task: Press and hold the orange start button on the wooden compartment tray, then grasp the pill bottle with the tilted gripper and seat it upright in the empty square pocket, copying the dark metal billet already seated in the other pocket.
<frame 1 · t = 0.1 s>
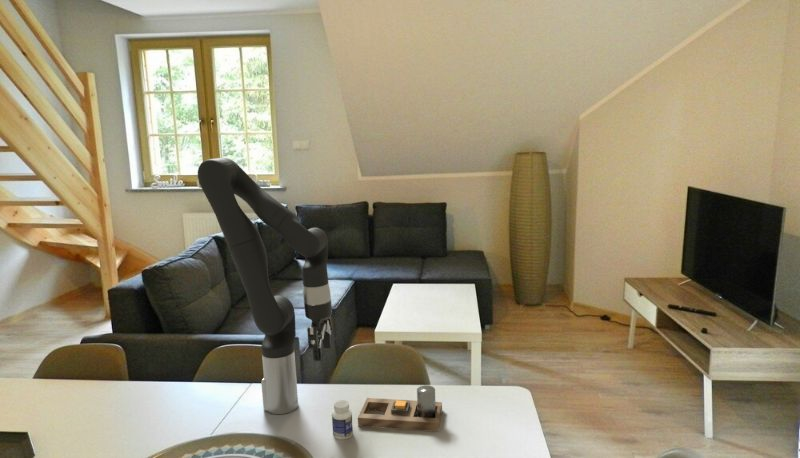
hand: (322, 353, 153), 17 cm above the table, tool pointing down, fingers open, 8 cm apart
start button: (400, 405, 150), point 4 cm above the table, slide at 0.0 cm
pill bottle: (343, 435, 143), on the table
metal billet: (426, 419, 149), resting in wooden compartment tray
wooden compartment tray: (401, 417, 150), on the table
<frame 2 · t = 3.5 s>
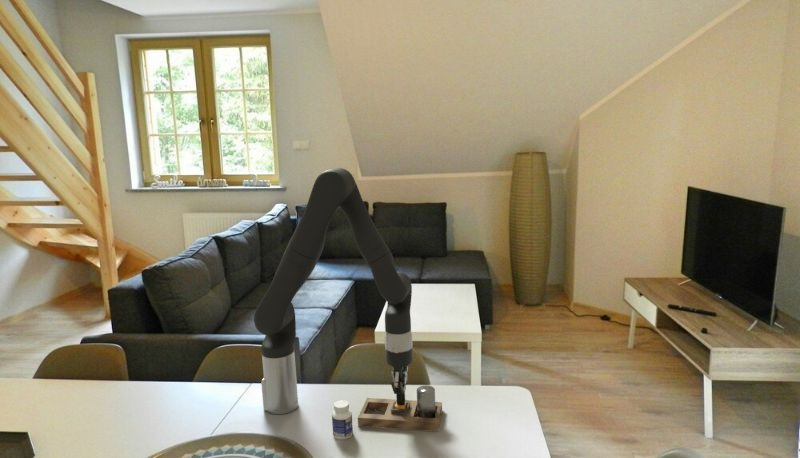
hand: (401, 403, 150), 4 cm above the table, tool pointing down, fingers closed
start button: (400, 405, 150), point 4 cm above the table, slide at 0.2 cm, touching gripper
everything else where it was.
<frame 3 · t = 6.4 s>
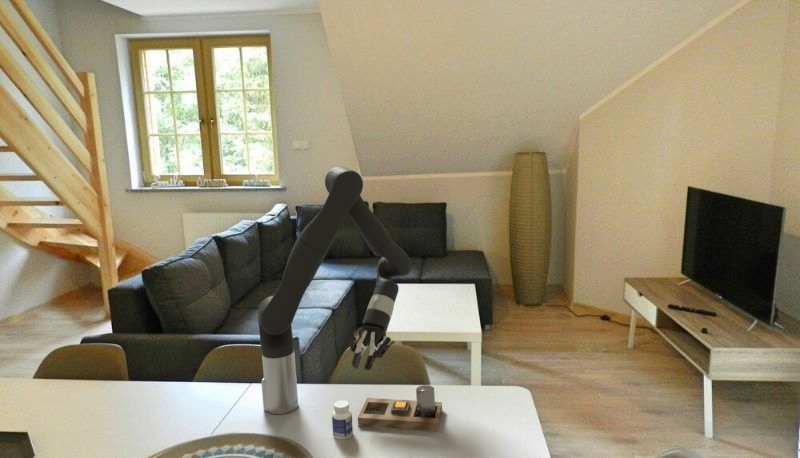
hand: (360, 368, 150), 14 cm above the table, tool tilted 45°, fingers open, 3 cm apart
start button: (400, 406, 150), point 4 cm above the table, slide at 0.4 cm
everything else where it was.
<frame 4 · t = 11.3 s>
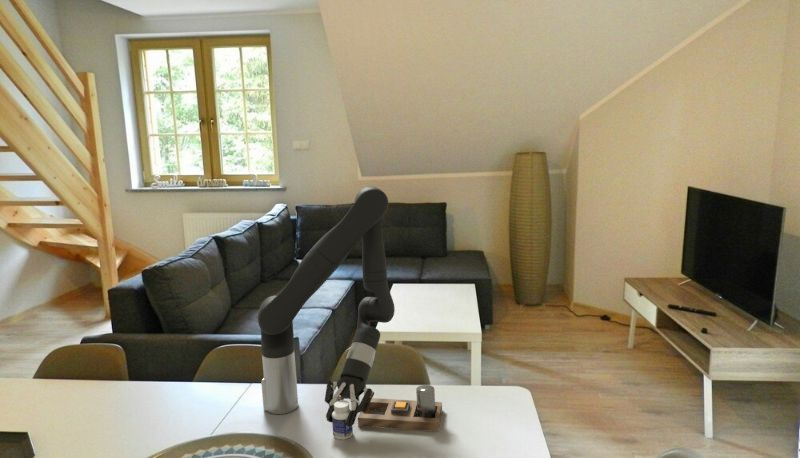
hand: (338, 423, 141), 4 cm above the table, tool tilted 45°, fingers closed on pill bottle, 5 cm apart
pill bottle: (343, 435, 143), on the table, touching gripper
everything else where it was.
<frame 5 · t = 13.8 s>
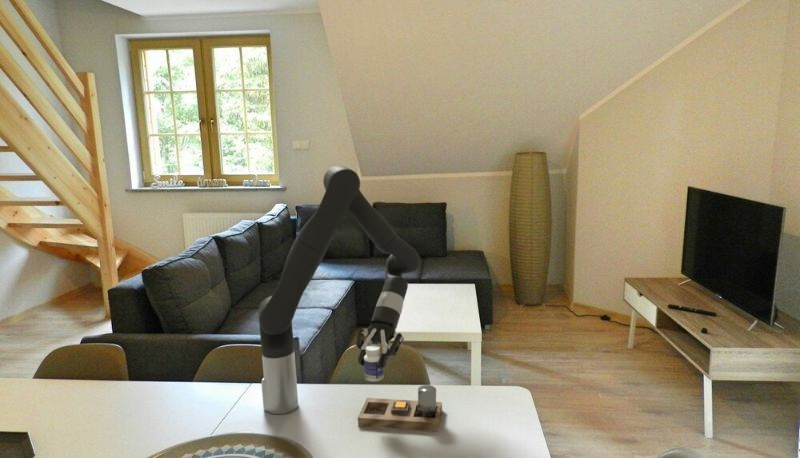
hand: (370, 366, 147), 16 cm above the table, tool tilted 45°, fingers closed on pill bottle, 5 cm apart
pill bottle: (374, 378, 150), point 12 cm above the table, touching gripper
everything else where it was.
when the fingers open (6 cm above the table, at t = 16.6 s): pill bottle drops 1 cm, resting in wooden compartment tray.
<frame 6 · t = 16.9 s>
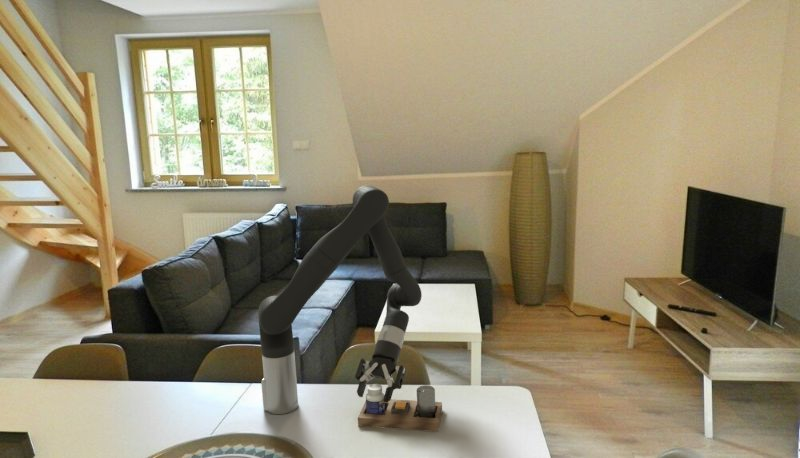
hand: (372, 398, 149), 6 cm above the table, tool tilted 45°, fingers open, 7 cm apart
pill bottle: (375, 416, 152), resting in wooden compartment tray
everything else where it was.
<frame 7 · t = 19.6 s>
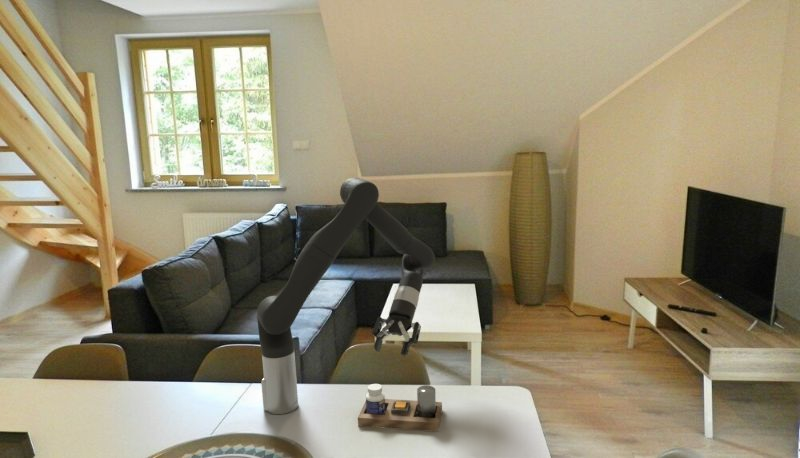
hand: (389, 353, 158), 15 cm above the table, tool tilted 45°, fingers open, 8 cm apart
nothing on the table moved.
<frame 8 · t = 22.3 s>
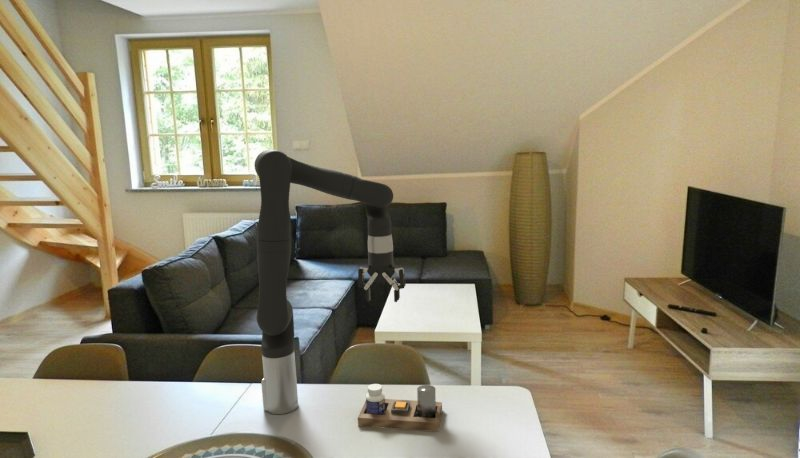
hand: (382, 300, 164), 28 cm above the table, tool pointing down, fingers open, 8 cm apart
nothing on the table moved.
at the end: pill bottle 0.2 cm from the target spot on the wooden compartment tray, point 0.0 cm above the wooden compartment tray's base; pill bottle tilted 0°; metal billet moved 0.1 cm from its start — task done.
